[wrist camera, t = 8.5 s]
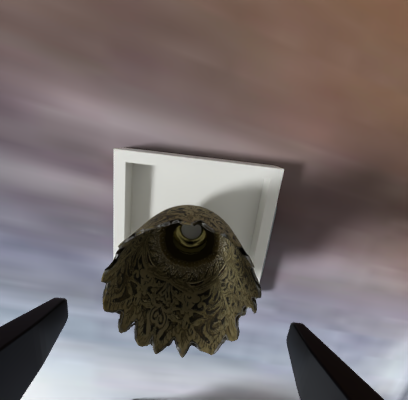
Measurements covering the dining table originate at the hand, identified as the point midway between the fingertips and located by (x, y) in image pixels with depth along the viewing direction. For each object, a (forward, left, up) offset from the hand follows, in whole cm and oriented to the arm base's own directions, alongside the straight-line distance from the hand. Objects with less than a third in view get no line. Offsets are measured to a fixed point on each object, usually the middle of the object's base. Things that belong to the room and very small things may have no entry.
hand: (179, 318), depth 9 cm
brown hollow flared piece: (0, 0, -10) cm, 10 cm away
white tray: (0, 0, -10) cm, 10 cm away
